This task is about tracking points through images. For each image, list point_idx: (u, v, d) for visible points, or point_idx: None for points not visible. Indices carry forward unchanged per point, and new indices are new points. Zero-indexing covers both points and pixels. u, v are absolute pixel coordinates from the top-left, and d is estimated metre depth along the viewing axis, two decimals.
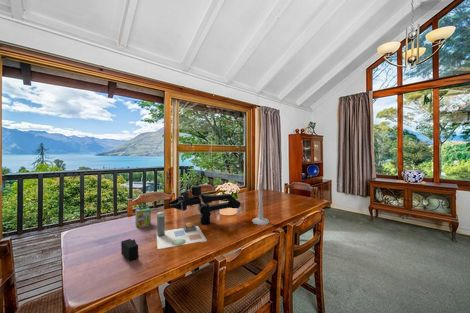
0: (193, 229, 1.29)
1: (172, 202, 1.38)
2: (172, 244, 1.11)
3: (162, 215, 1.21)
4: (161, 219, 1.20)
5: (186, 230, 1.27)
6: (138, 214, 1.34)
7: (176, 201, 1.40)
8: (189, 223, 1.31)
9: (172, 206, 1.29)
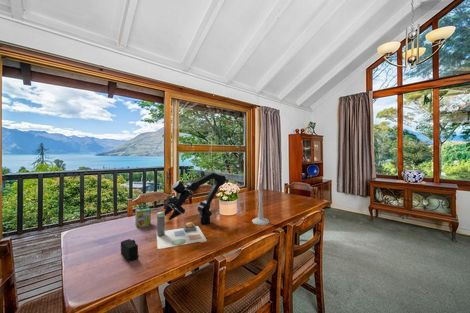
0: (193, 229, 1.29)
1: (166, 212, 1.29)
2: (172, 244, 1.11)
3: (162, 215, 1.21)
4: (161, 219, 1.20)
5: (186, 230, 1.27)
6: (138, 214, 1.34)
7: (168, 208, 1.30)
8: (189, 223, 1.31)
9: (171, 218, 1.21)
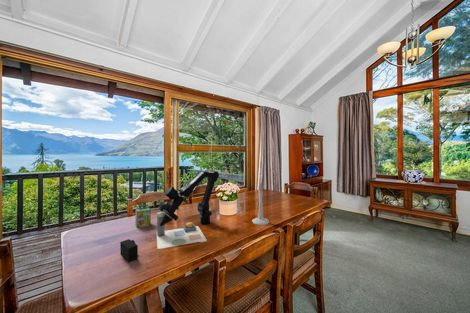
0: (193, 229, 1.29)
1: None
2: (172, 244, 1.11)
3: (162, 215, 1.21)
4: (161, 219, 1.20)
5: (186, 230, 1.27)
6: (138, 214, 1.34)
7: None
8: (189, 223, 1.31)
9: (162, 224, 1.20)
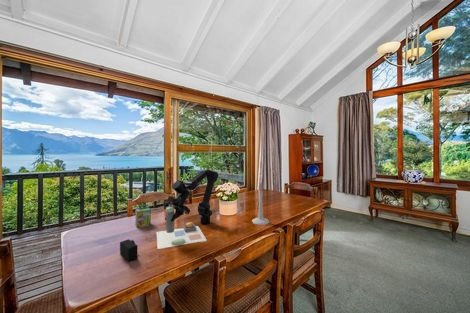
0: (193, 229, 1.29)
1: None
2: (172, 244, 1.11)
3: (173, 210, 1.14)
4: (172, 214, 1.14)
5: (186, 230, 1.27)
6: (138, 214, 1.34)
7: None
8: (189, 223, 1.31)
9: (173, 219, 1.14)
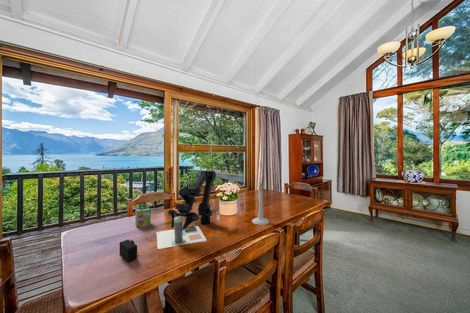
0: (193, 229, 1.29)
1: (173, 223, 1.15)
2: (172, 244, 1.11)
3: (181, 220, 1.12)
4: (181, 224, 1.12)
5: (186, 230, 1.27)
6: (138, 214, 1.34)
7: None
8: None
9: (184, 227, 1.11)
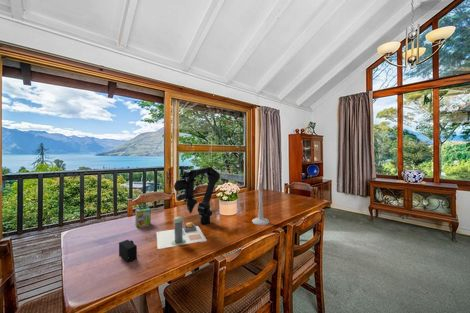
0: (193, 229, 1.29)
1: None
2: (172, 244, 1.11)
3: (181, 220, 1.12)
4: (181, 224, 1.12)
5: (186, 230, 1.27)
6: (138, 214, 1.34)
7: None
8: (189, 223, 1.31)
9: (190, 211, 1.28)
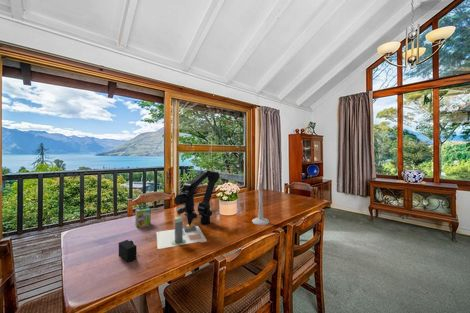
0: (193, 229, 1.29)
1: None
2: (172, 244, 1.11)
3: (182, 220, 1.12)
4: (181, 224, 1.12)
5: (186, 230, 1.27)
6: (138, 214, 1.34)
7: None
8: (189, 225, 1.31)
9: (189, 223, 1.31)
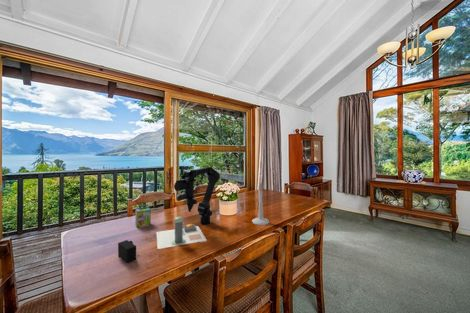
0: (193, 229, 1.29)
1: None
2: (172, 244, 1.11)
3: (182, 220, 1.12)
4: (181, 224, 1.12)
5: (186, 230, 1.27)
6: (138, 214, 1.34)
7: None
8: (189, 225, 1.31)
9: (189, 209, 1.30)
